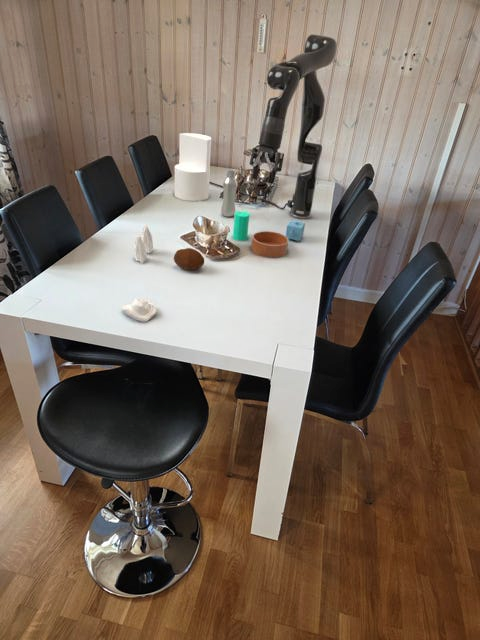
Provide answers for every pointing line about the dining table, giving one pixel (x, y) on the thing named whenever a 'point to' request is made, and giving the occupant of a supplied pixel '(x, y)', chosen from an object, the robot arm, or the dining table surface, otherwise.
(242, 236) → the candle
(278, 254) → the pot
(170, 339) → the dining table surface
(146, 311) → the rose
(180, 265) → the potato
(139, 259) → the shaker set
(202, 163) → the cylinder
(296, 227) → the teapot
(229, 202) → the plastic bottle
